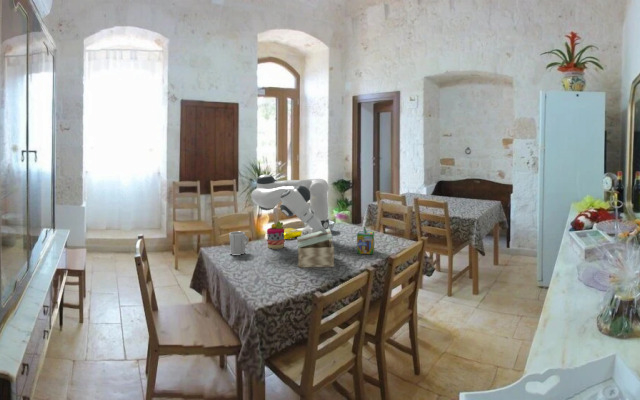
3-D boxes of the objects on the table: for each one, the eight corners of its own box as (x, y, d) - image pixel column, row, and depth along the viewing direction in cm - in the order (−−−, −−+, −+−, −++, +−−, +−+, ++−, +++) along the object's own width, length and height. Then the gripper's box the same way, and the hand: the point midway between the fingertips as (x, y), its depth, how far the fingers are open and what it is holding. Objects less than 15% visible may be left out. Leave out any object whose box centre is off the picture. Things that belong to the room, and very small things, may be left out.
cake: (278, 249, 272) (277, 224, 270) (263, 247, 277) (263, 223, 275) (288, 246, 281) (287, 221, 279) (273, 244, 286) (273, 220, 284)
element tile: (290, 233, 318) (290, 226, 318) (304, 237, 307) (304, 230, 307) (272, 237, 309) (272, 229, 308) (286, 240, 297) (285, 233, 297)
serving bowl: (337, 234, 314) (337, 224, 313) (306, 235, 311) (306, 225, 310) (331, 228, 335) (331, 219, 334) (302, 229, 331) (302, 220, 330)
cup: (234, 251, 270) (233, 230, 268) (249, 251, 268) (248, 231, 266) (227, 255, 260) (226, 234, 258) (242, 256, 258) (242, 235, 256)
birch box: (298, 267, 235) (298, 248, 234) (298, 257, 255) (298, 239, 254) (334, 266, 236) (334, 247, 235) (331, 256, 256) (331, 239, 255)
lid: (298, 248, 234) (297, 245, 234) (298, 239, 254) (297, 237, 254) (332, 238, 234) (332, 236, 234) (330, 230, 254) (329, 228, 254)
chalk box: (373, 254, 259) (373, 228, 257) (356, 254, 261) (357, 228, 259) (374, 250, 268) (374, 225, 266) (358, 250, 270) (358, 225, 268)
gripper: (302, 215, 253) (320, 232, 254) (302, 221, 232) (322, 240, 234) (310, 206, 252) (328, 224, 254) (311, 213, 232) (331, 232, 234)
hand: (325, 232), depth 244 cm, fingers closed
